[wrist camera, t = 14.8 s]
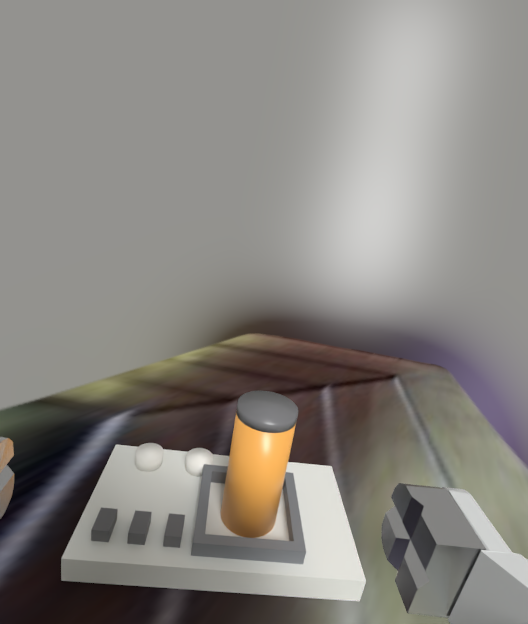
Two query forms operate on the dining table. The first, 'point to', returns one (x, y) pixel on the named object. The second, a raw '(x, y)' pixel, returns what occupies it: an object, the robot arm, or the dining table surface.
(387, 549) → the robot arm
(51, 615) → the dining table surface
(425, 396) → the dining table surface
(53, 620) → the dining table surface
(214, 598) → the dining table surface
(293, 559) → the board
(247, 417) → the orange capped cylinder
